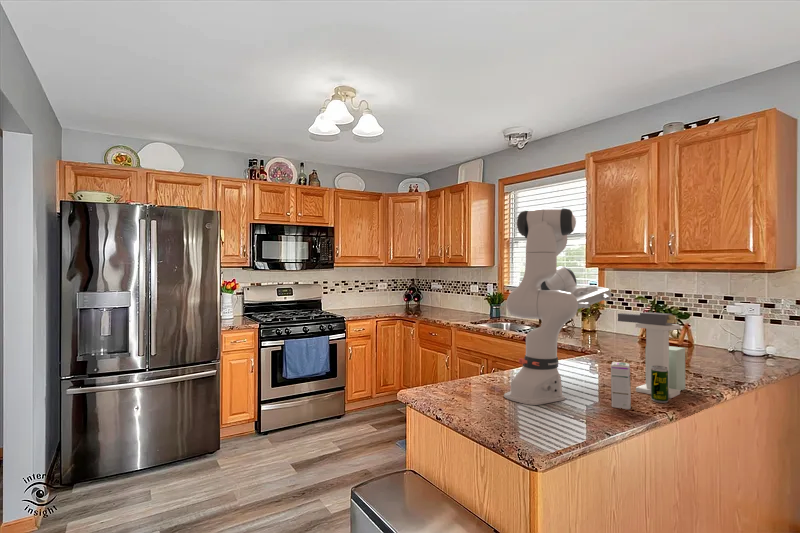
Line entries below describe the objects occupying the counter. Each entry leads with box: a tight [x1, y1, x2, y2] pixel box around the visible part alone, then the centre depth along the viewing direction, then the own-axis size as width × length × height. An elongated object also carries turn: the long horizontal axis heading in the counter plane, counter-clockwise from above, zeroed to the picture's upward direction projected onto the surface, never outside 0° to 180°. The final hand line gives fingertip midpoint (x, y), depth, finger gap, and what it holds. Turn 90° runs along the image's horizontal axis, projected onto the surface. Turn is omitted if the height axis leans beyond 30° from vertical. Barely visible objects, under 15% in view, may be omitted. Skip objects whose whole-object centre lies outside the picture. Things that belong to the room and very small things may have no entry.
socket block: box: [645, 345, 686, 392], centre depth 172 cm, size 9×11×16 cm
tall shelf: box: [635, 323, 681, 399], centre depth 165 cm, size 9×12×26 cm
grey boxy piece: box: [617, 311, 678, 326], centre depth 168 cm, size 20×6×4 cm, turn 39°
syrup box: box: [610, 361, 632, 410], centre depth 148 cm, size 6×6×14 cm
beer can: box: [650, 366, 670, 404], centre depth 154 cm, size 5×5×12 cm
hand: (598, 302), depth 178 cm, fingers open, 8 cm apart
